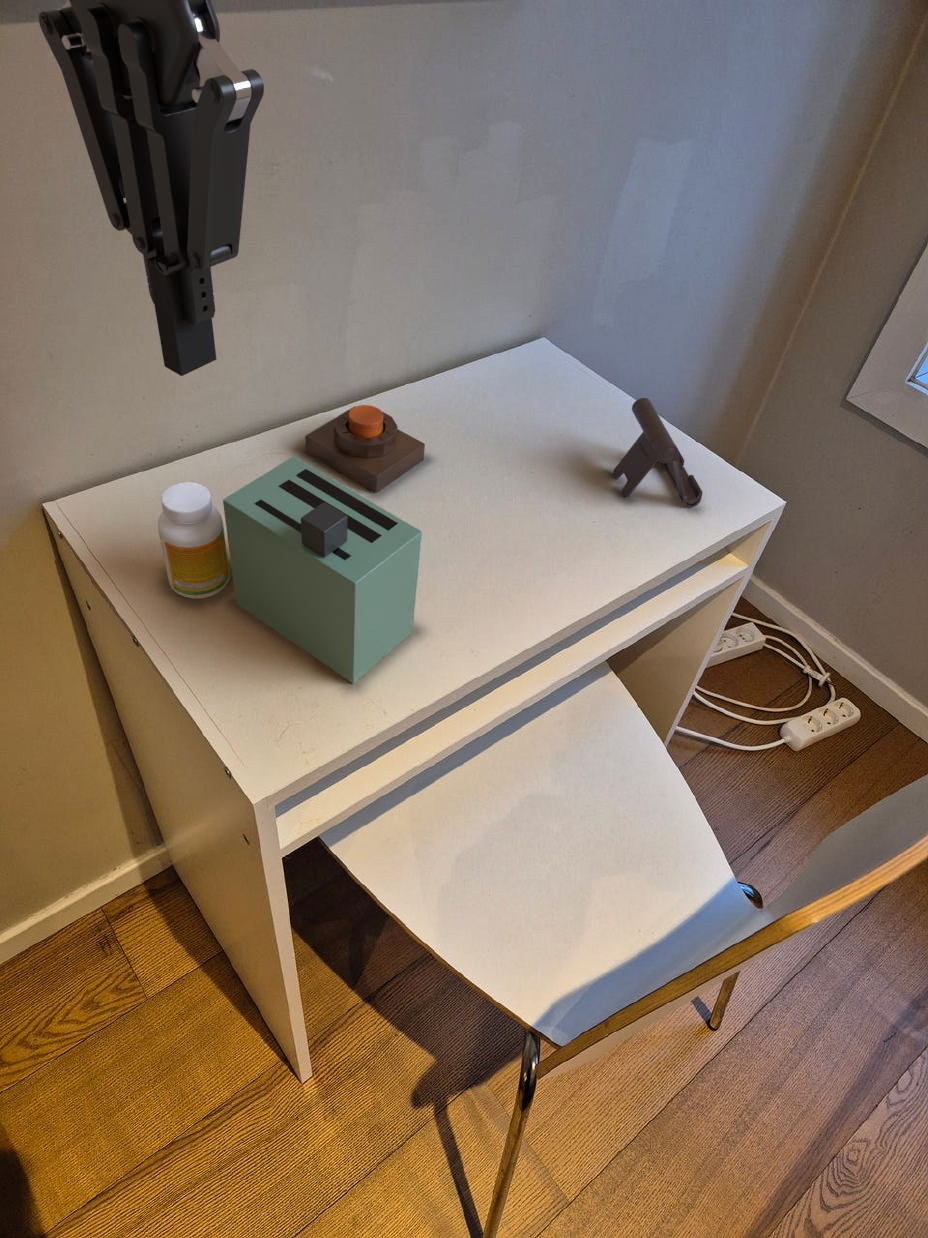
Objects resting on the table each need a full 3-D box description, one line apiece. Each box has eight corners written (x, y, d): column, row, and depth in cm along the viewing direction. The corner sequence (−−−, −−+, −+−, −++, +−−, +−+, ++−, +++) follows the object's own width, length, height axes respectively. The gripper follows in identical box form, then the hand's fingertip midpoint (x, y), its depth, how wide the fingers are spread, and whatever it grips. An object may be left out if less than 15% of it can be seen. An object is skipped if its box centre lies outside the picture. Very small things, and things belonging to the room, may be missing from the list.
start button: (341, 428, 91) (341, 414, 89) (364, 414, 93) (364, 400, 91) (367, 443, 89) (367, 428, 88) (389, 428, 92) (390, 414, 90)
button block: (305, 452, 93) (304, 421, 90) (354, 422, 98) (355, 391, 95) (376, 493, 90) (377, 462, 87) (423, 460, 94) (426, 429, 91)
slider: (301, 543, 66) (300, 517, 64) (324, 527, 67) (324, 501, 65) (324, 558, 65) (324, 532, 63) (347, 541, 66) (348, 515, 65)
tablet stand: (698, 509, 94) (723, 445, 88) (630, 511, 92) (651, 447, 86) (671, 459, 99) (692, 397, 93) (606, 461, 98) (624, 397, 92)
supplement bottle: (240, 586, 79) (230, 503, 72) (185, 608, 76) (169, 525, 69) (213, 551, 81) (201, 469, 74) (158, 572, 79) (141, 488, 72)
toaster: (235, 603, 77) (222, 498, 68) (298, 558, 82) (293, 455, 73) (353, 684, 72) (355, 583, 64) (412, 631, 77) (422, 530, 68)
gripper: (302, -133, 35) (314, 382, 52) (91, -189, 39) (166, 302, 56) (151, -128, 30) (219, 434, 47) (-68, -191, 35) (67, 343, 52)
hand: (190, 362), depth 52 cm, fingers closed
